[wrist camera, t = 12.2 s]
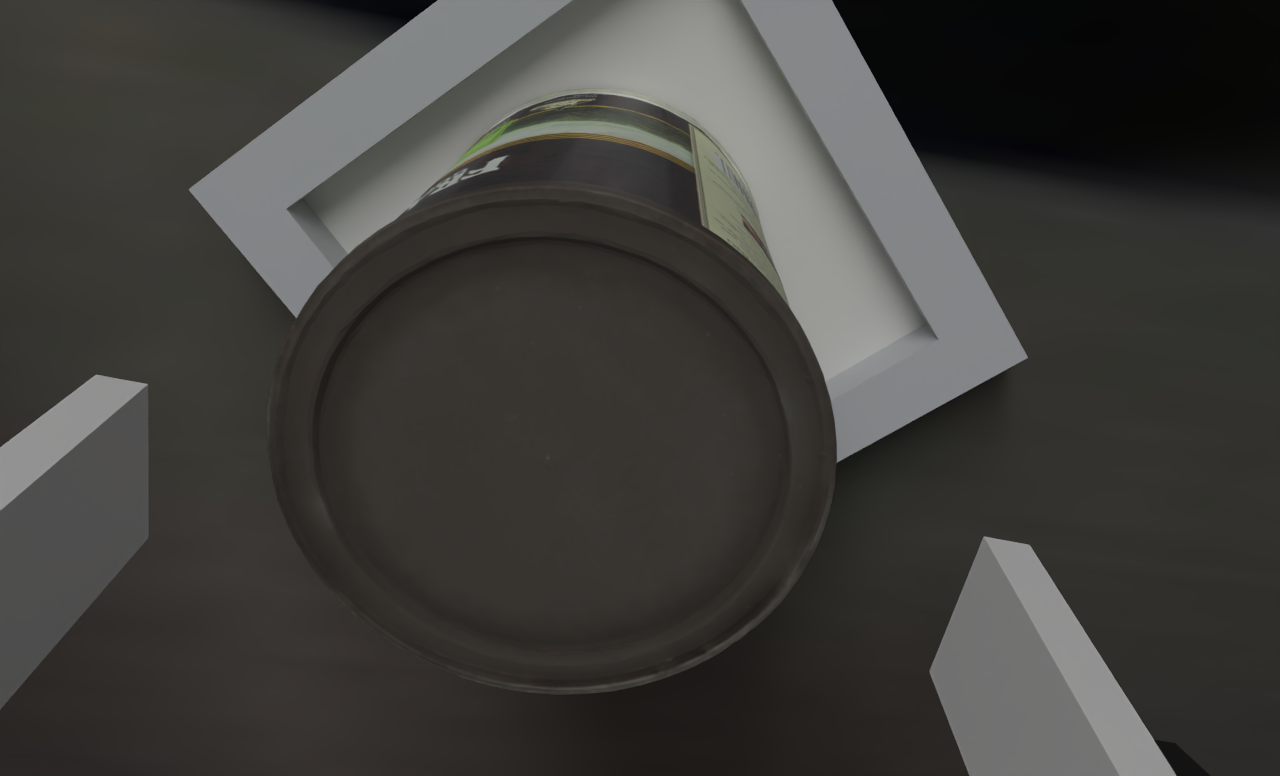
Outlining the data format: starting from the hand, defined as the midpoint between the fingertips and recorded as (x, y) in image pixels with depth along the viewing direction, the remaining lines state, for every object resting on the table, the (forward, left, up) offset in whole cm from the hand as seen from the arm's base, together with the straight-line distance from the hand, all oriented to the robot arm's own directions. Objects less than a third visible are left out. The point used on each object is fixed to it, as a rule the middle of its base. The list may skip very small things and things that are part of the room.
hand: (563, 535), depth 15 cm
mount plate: (0, 0, -17) cm, 17 cm away
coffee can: (0, 0, -17) cm, 17 cm away
